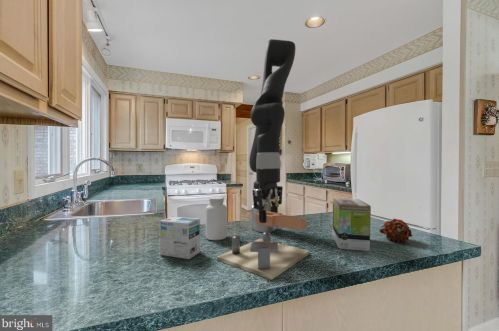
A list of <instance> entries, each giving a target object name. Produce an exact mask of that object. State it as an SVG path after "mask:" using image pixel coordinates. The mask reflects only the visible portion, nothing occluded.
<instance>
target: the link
mask: <svg viewBox="0 0 499 331" xmlns="http://www.w3.org/2000/svg"><path fill="white" fill-rule="evenodd" d="M256 224H260V225H265V226H271V227H272V226H275V227H280V228H285V229H290V230H296V231H301V232H302V231H304V230H306V229H307V217H300V216H293V215H287V214H283V213H279V212H278V213H274V212H267V211H266V223H261V222H259V213H258V214H256Z"/></svg>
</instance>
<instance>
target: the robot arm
mask: <svg viewBox="0 0 499 331" xmlns="http://www.w3.org/2000/svg"><path fill="white" fill-rule="evenodd" d="M264 52H265V53H264V63H263V64H264V65H263V75H262V76H263V77H262V85H261V90H260V95H259V97H258V98H257V100H256V101H255V102H254V104H253V106H252V108H251V111H250V120H251V123H252V124H253V126H255V132H254V137H253V141H252V145H251V149H250V153H249V154H250V155H249V161H248V162H249V163H248V164H249V168H250V170H251V171H252V172H254V173H255V174H256V175H255V176H256V177H255V178H256V180H254V182H253V189H252V199H253V200H252V202H253V205H252V206H251V229H252V230H253V231H256V232H258V233H263V232H270V233H271V232H274V231H276V226H272V227H271V226H265V225H260V224H256V214H258V213H259V222H261V223H266V211H267V212H274V213H279V206H280V205H282V203H283V190H284V189H283V186H282V185H281V186H279V185H278V183H281V157H280V137H281V131H282V127H283V124H284V120H285V108H284V106H283V96H284V90H285V86H286V84H287V81H288V78H289V76H290V73H291V70H292V67H293V64H294V61H295V55H296V43H295V42H293V41H291V40H283V39H273V38H272V39H269V40H268V41H267V43H266V47H265V51H264ZM273 67H276V68H277V67H278V68H277V69H276V70H275V71H273Z"/></svg>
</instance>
